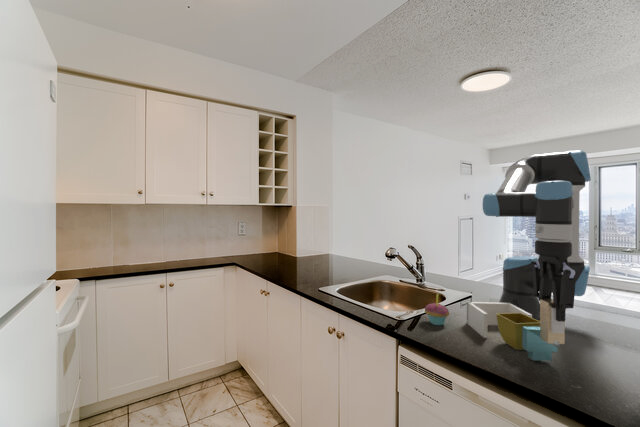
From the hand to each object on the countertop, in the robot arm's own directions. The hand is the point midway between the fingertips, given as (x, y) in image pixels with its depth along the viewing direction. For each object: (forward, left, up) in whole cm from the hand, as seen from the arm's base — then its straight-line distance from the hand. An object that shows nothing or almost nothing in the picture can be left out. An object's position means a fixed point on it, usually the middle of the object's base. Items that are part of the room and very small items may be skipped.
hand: (552, 329), depth 75 cm
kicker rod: (0, -2, -10) cm, 10 cm away
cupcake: (+19, -31, -11) cm, 38 cm away
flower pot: (0, -14, -11) cm, 18 cm away
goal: (0, -26, -11) cm, 28 cm away
